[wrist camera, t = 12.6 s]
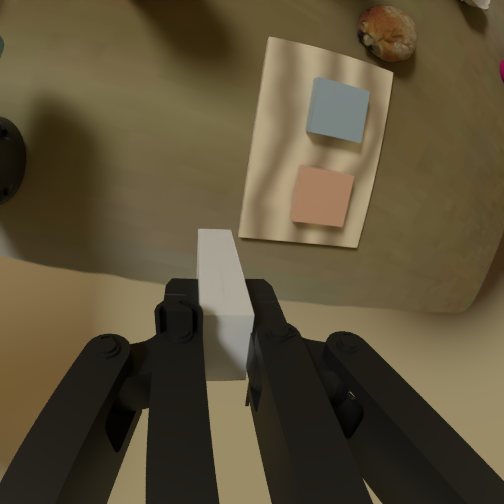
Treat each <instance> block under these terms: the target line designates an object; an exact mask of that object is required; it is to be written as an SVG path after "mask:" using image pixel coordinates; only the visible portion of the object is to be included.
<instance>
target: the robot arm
mask: <svg viewBox="0 0 504 504" xmlns="http://www.w3.org/2000/svg"><path fill="white" fill-rule="evenodd" d="M3 49H4V42H3V39H2V37H1V36H0V57H1V55H2V52H3ZM24 170H25V148H24V144H23V140H22V137H21V135H20V133H19V131H18V129H17V128H16V126H15V125H14V124H13V123H12V122H11V121H9V120H8V119H6V118H4V117H0V205H1V204H2V203H4V202H6V201H8V200H9V199H10V198H11V197H12V196H13V195H14V194H15V193H16V191H17V190H18V188H19V186H20V184H21V182H22V179H23V175H24ZM154 312H155V324H156V335H155V336H154V337H152V338H151V339H149V340H147V341H143V342H140V343H135V344H129V342H128V341H127V340H126V339H125V338H124V337H122V336H120V335H117V334H103V335H99V336H97V337H95V338H93V339H91V340H90V341H89V342H88V343H87V345H86V346H85V347H84V349H83V350H82V352H81V353H80V355H79V356H78V357H77V359H76V360H75V362H74V363H73V364H72V366H71V367H70V369H69V370H68V372H67V373H66V375H65V376H64V378H63V379H62V381H61V382H60V384H59V385H58V387H57V388H56V390H55V391H54V393H53V394H52V396H51V397H50V399H49V400H48V402H47V403H46V405H45V407H44V408H43V410H42V411H41V413H40V414H39V416H38V418H37V420H36V421H35V423H34V425H33V426H32V428H31V429H30V431H29V433H28V434H27V436H26V438H25V439H24V441H23V443H22V444H21V446H20V448H19V449H18V451H17V453H16V455H15V456H14V458H13V460H12V462H11V464H10V465H9V467H8V469H7V471H6V473H5V475H4V476H3V478H2V480H1V482H0V504H107V502H108V499H109V496H110V493H111V491H112V488H113V485H114V483H115V480H116V477H117V475H118V472H119V469H120V467H121V464H122V462H123V459H124V456H125V454H126V451H127V448H128V446H129V443H130V441H131V438H132V436H133V433H134V430H135V428H136V426H137V423H138V421H139V418H140V416H141V413H142V409H146V408H149V417H148V435H147V455H146V504H219V497H218V489H217V482H216V474H215V466H214V458H213V449H212V439H211V430H210V420H209V410H208V399H207V389H206V388H207V387H206V381H229V380H230V381H231V380H245V379H246V372H247V373H248V378H249V383H248V390H247V396H246V404H245V406H249V402H250V406H251V411H252V416H253V421H254V426H255V431H256V435H257V440H258V445H259V449H260V454H261V458H262V462H263V467H264V472H265V476H266V481H267V485H268V489H269V493H270V498H271V502H272V504H373V502H372V500H371V497H370V495H369V492H368V490H367V488H366V485H365V483H364V481H363V479H364V480H365V482H366V483H367V484H368V486H369V487H370V488H371V489H372V491H373V492H374V493H375V494H376V496H377V497H378V498H379V500H380V501H381V502H382V503H383V504H504V481H503V480H502V479H501V478H500V477H499V476H498V475H497V473H495V471H494V470H493V469H492V468H491V467H490V466H489V465H488V464H487V463H486V462H485V461H484V460H483V459H482V458H481V457H480V456H479V455H478V454H477V453H476V452H475V451H474V450H473V449H472V448H471V446H470V445H469V444H468V443H466V441H465V440H464V439H463V438H462V437H461V436H460V435H459V434H458V433H457V432H456V431H455V430H454V429H453V428H452V427H451V426H450V425H449V424H448V423H447V422H446V421H445V420H444V419H443V418H442V417H441V416H440V415H439V414H438V413H437V412H436V411H435V410H434V409H433V408H432V407H431V406H430V405H429V404H428V403H427V402H426V401H425V400H424V399H423V398H422V397H421V396H420V395H419V394H418V393H417V392H416V391H415V390H414V389H413V388H412V387H411V386H410V385H409V384H408V383H407V382H406V381H405V380H404V379H403V378H402V377H401V376H400V375H399V374H398V373H397V372H396V371H395V370H394V369H393V368H392V367H391V366H390V365H389V364H388V363H387V362H386V361H385V360H384V359H383V358H382V357H381V356H380V355H379V354H378V353H377V352H376V351H375V350H374V349H373V348H372V347H371V346H370V345H369V344H368V343H367V342H365V340H363V339H362V338H361V337H359V336H358V335H356V334H353V333H351V332H345V331H340V332H335V333H332V334H330V335H329V337H328V338H327V341H326V342H321V341H314V340H309V339H305V338H303V337H301V334H300V333H299V331H298V330H297V329H296V328H295V327H294V326H292V325H291V324H289V323H287V322H286V320H285V317H284V315H283V312H282V310H281V307H280V305H279V302H278V300H277V297H276V295H275V293H274V290H273V288H272V286H271V285H270V284H269V283H268V282H266V281H265V280H264V279H244V276H243V273H242V269H241V265H240V262H239V258H238V254H237V251H236V247H235V244H234V240H233V236H232V233H231V230H219V229H198V249H197V279H178V278H172V279H171V280H170V281H169V282H168V284H167V285H166V288H165V295H164V301H162V302H161V303H160V304H158V305H157V306H156V308H155V311H154ZM350 391H351V393H352V394H353V395H354V396H355V397H354V396H353V395H352V394H351V393H350Z"/></svg>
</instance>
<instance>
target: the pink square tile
mask: <svg viewBox="0 0 504 504" xmlns="http://www.w3.org/2000/svg"><path fill="white" fill-rule="evenodd" d="M353 180H354V176H353V175H351V174H349V173H343V172H338V171H333V170H327V169H322V168H316V167H310V166H304V165H299V170H298V175H297V181H296V186H295V191H294V197H293V202H292V207H291V212H290V218H291V219H292V221H294V222H303V223H312V224H321V225H329V226H338V227H343V223H344V219H345V215H346V211H347V206H348V202H349V198H350V193H351V189H352V184H353Z"/></svg>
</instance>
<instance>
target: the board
mask: <svg viewBox="0 0 504 504" xmlns="http://www.w3.org/2000/svg"><path fill="white" fill-rule="evenodd" d="M317 77H321V78H325V79H329V80H332V81H336V82H340V83H343V84H347V85H350V86H353V87H357V88H360V89H363V90H366V91H369V92H370V94H369V100H368V107H367V113H366V118H365V124H364V130H363V135H362V140H361V143H357V142H353V141H349V140H345V139H340V138H336V137H332V136H327V135H322V134H317V133H313V132H307V131H305V130H306V124H307V118H308V112H309V106H310V100H311V94H312V88H313V82H314V78H317ZM392 79H393V72H391V71H388V70H386V69H383V68H380V67H378V66H375V65H372V64H369V63H366V62H363V61H361V60H358V59H355V58H351V57H348V56H345V55H342V54H339V53H335V52H332V51H328V50H325V49H321V48H317V47H313V46H310V45H305V44H301V43H297V42H293V41H288V40H283V39H279V38H274V37H269V38H268V41H267V47H266V53H265V59H264V65H263V71H262V77H261V84H260V90H259V96H258V103H257V109H256V115H255V122H254V128H253V135H252V141H251V148H250V155H249V161H248V168H247V175H246V182H245V188H244V195H243V202H242V209H241V216H240V223H239V230H238V236H239V237H245V238H256V239H268V240H279V241H290V242H301V243H312V244H322V245H333V246H343V247H354V248H357V246H358V242H359V239H360V235H361V231H362V228H363V224H364V220H365V216H366V212H367V208H368V204H369V200H370V196H371V192H372V187H373V183H374V179H375V174H376V169H377V165H378V160H379V155H380V150H381V145H382V140H383V135H384V129H385V124H386V118H387V112H388V106H389V100H390V93H391V86H392ZM299 165H304V166H310V167H316V168H322V169H327V170H333V171H338V172H343V173H349V174H351V175H353V176H354V180H353V184H352V189H351V193H350V198H349V202H348V206H347V211H346V215H345V219H344V223H343V227H338V226H329V225H321V224H312V223H303V222H294V221H292V219H291V218H290V212H291V207H292V202H293V197H294V191H295V186H296V181H297V175H298V170H299Z"/></svg>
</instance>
